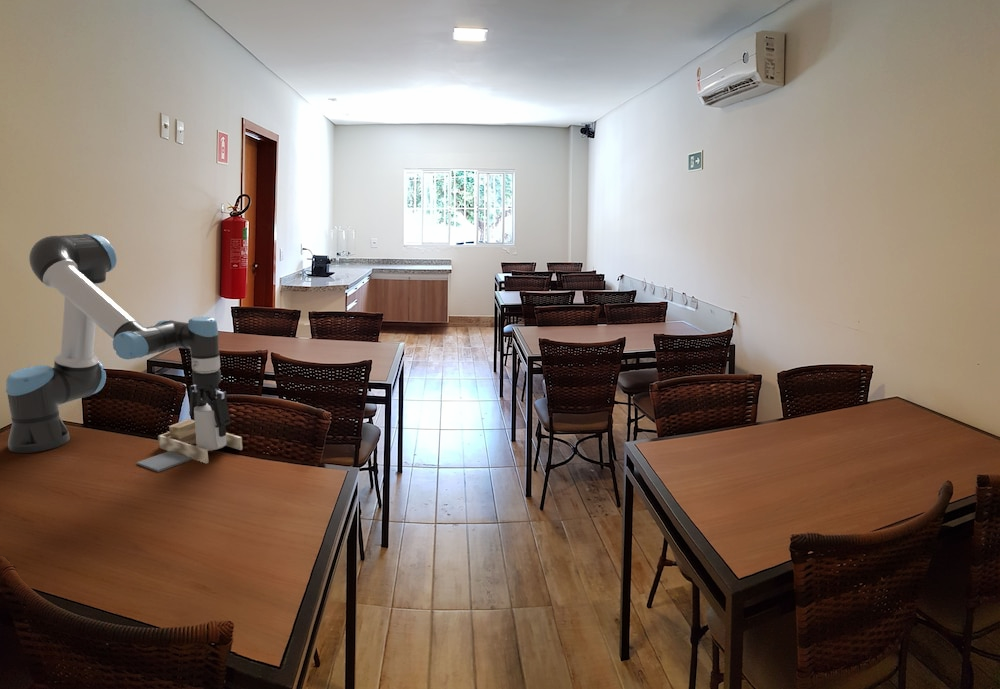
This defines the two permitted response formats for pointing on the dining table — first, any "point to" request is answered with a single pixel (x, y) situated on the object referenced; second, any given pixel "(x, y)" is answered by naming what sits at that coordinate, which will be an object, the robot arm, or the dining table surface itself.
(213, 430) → the cup
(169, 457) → the mat
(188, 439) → the offcut low
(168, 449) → the rack
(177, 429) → the offcut top
